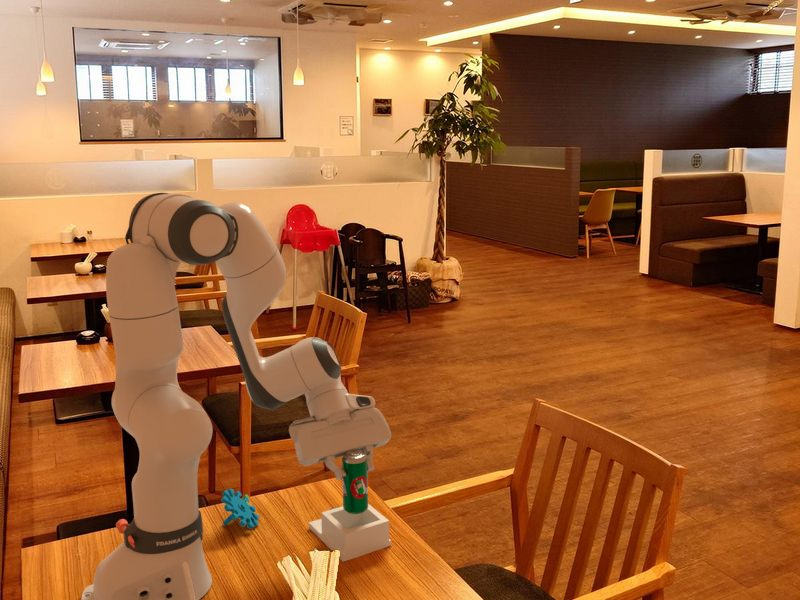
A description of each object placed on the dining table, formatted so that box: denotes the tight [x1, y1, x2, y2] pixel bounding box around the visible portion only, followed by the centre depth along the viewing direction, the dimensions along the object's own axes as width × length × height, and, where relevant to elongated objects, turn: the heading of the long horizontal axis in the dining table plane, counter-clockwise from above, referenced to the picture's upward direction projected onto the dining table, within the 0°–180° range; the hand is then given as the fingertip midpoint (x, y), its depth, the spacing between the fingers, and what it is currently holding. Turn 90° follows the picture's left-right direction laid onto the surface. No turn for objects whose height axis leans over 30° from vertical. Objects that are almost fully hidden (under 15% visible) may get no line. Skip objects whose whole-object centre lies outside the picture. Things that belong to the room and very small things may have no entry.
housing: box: [308, 503, 392, 563], centre depth 158 cm, size 11×15×6 cm
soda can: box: [341, 450, 369, 514], centre depth 153 cm, size 5×5×12 cm
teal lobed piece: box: [220, 488, 260, 530], centre depth 163 cm, size 11×6×10 cm
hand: (356, 474), depth 152 cm, fingers closed on soda can, 5 cm apart
